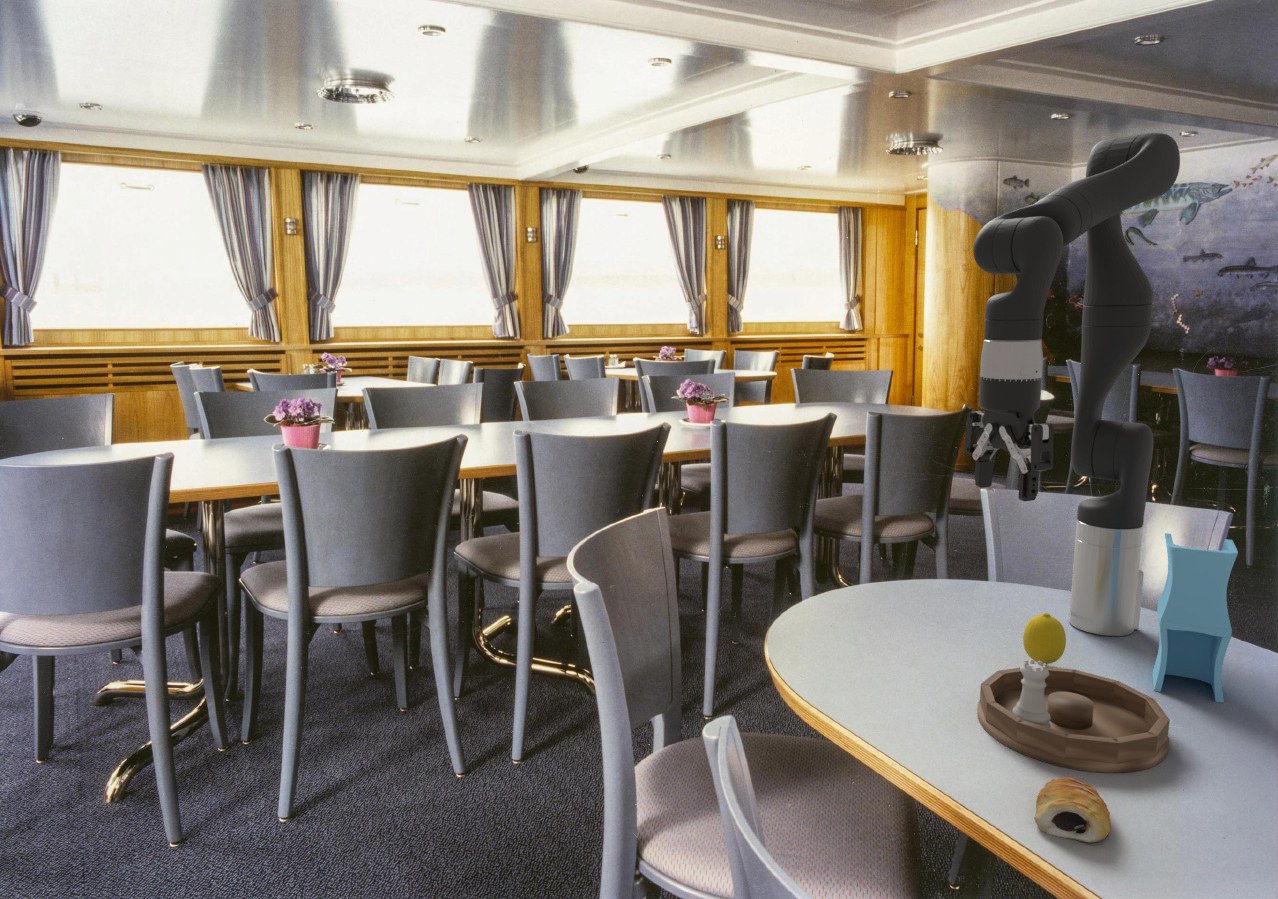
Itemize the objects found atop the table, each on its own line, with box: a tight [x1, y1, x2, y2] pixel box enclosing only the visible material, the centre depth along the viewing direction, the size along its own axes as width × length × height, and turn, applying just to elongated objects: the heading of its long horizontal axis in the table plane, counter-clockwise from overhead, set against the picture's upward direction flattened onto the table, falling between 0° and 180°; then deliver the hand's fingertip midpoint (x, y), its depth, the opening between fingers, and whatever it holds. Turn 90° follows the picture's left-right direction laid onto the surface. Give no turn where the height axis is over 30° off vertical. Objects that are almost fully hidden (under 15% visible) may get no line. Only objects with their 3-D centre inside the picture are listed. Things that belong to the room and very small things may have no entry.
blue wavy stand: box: [1151, 532, 1239, 704], centre depth 116 cm, size 8×8×20 cm
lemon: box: [1022, 612, 1067, 666], centre depth 124 cm, size 6×6×8 cm
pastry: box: [1033, 776, 1112, 843], centre depth 88 cm, size 9×7×4 cm
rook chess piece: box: [1012, 659, 1051, 728], centre depth 104 cm, size 4×4×8 cm
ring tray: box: [977, 666, 1171, 774], centre depth 106 cm, size 21×21×4 cm
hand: (1004, 493), depth 117 cm, fingers open, 8 cm apart
